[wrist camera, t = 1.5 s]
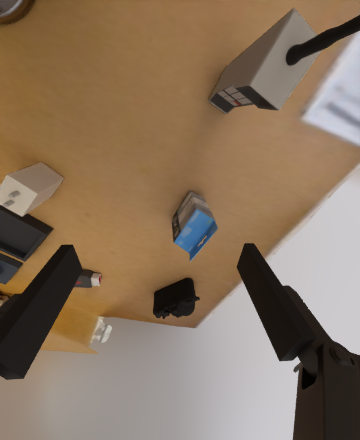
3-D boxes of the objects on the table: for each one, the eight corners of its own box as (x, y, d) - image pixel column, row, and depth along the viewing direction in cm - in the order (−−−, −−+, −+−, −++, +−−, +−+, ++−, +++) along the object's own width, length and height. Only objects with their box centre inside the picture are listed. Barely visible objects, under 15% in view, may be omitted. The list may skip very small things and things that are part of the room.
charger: (28, 183, 33) (-17, 204, 25) (41, 162, 31) (-2, 177, 23) (50, 197, 35) (15, 221, 27) (64, 178, 33) (31, 197, 25)
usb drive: (55, 267, 46) (49, 275, 43) (100, 270, 47) (97, 278, 45) (59, 279, 48) (53, 288, 46) (101, 282, 50) (98, 290, 48)
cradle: (-27, 226, 37) (-39, 233, 35) (-9, 193, 34) (-21, 198, 31) (32, 254, 43) (25, 261, 41) (53, 228, 39) (47, 234, 37)
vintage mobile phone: (207, 101, 28) (336, 49, 6) (225, 67, 25) (508, -182, 4) (224, 114, 29) (383, 105, 8) (243, 82, 27) (537, -55, 5)
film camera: (166, 305, 59) (166, 333, 51) (150, 292, 54) (147, 320, 46) (204, 290, 55) (210, 318, 48) (191, 274, 51) (195, 302, 43)
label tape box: (190, 189, 36) (199, 218, 25) (205, 197, 37) (219, 228, 27) (171, 219, 40) (172, 256, 29) (185, 226, 41) (191, 263, 30)
